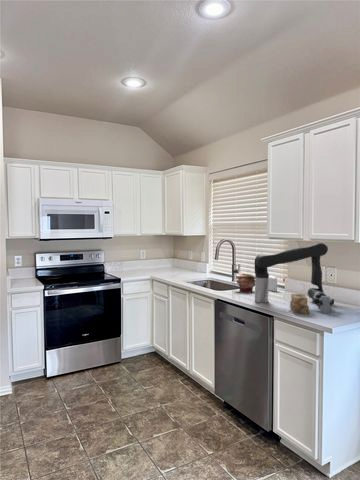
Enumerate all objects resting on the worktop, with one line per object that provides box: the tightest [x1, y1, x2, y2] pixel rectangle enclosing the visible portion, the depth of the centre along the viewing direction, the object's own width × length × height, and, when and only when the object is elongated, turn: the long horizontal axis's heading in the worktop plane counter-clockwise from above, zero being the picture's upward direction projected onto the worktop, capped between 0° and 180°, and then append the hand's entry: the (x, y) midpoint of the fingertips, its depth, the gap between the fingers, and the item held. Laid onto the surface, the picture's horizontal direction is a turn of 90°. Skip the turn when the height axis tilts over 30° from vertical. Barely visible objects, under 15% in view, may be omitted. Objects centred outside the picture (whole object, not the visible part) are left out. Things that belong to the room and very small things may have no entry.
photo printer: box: [268, 275, 278, 292], centre depth 287 cm, size 10×4×12 cm, turn 30°
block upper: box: [290, 293, 308, 306], centre depth 218 cm, size 8×12×5 cm, turn 168°
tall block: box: [320, 295, 331, 314], centre depth 216 cm, size 4×4×10 cm
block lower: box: [289, 300, 310, 315], centre depth 218 cm, size 9×14×5 cm, turn 169°
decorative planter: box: [235, 273, 255, 293], centre depth 281 cm, size 20×12×14 cm, turn 115°
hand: (326, 303), depth 213 cm, fingers closed on tall block, 4 cm apart
